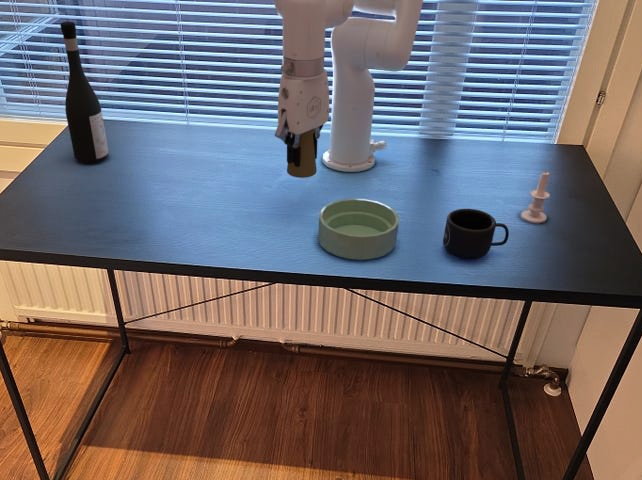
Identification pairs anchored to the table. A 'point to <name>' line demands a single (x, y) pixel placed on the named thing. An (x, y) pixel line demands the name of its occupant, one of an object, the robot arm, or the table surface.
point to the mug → (470, 234)
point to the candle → (537, 202)
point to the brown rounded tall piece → (304, 157)
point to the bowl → (358, 228)
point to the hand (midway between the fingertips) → (301, 160)
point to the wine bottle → (82, 107)
